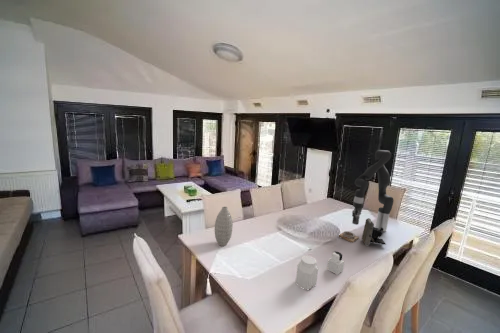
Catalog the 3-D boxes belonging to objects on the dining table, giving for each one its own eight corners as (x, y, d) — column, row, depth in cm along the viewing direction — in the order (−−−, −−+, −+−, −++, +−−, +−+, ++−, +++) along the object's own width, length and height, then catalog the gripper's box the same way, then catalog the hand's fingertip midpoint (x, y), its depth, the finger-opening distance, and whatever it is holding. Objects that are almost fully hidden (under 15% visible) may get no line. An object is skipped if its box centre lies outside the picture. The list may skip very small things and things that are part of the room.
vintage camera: (385, 249, 180) (391, 225, 177) (364, 245, 183) (369, 221, 180) (381, 243, 190) (386, 220, 186) (361, 239, 193) (366, 217, 189)
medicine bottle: (332, 265, 153) (335, 248, 151) (342, 271, 148) (345, 254, 146) (326, 269, 149) (329, 252, 147) (336, 275, 144) (339, 257, 141)
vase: (215, 239, 175) (216, 203, 170) (231, 240, 176) (234, 204, 170) (212, 248, 163) (214, 210, 158) (230, 249, 163) (233, 211, 158)
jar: (305, 274, 141) (308, 252, 139) (318, 283, 134) (322, 260, 131) (292, 282, 134) (295, 258, 131) (306, 292, 127) (309, 267, 124)
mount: (345, 232, 203) (345, 229, 202) (358, 238, 194) (359, 234, 193) (338, 236, 195) (338, 232, 194) (352, 242, 186) (352, 238, 185)
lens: (353, 221, 206) (355, 210, 204) (359, 223, 203) (361, 212, 201) (351, 223, 203) (352, 212, 201) (356, 225, 199) (358, 214, 197)
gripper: (357, 198, 206) (355, 216, 210) (350, 202, 197) (347, 220, 200) (366, 201, 201) (363, 219, 204) (359, 204, 191) (356, 223, 195)
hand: (355, 220), depth 202 cm, fingers closed on lens, 5 cm apart
